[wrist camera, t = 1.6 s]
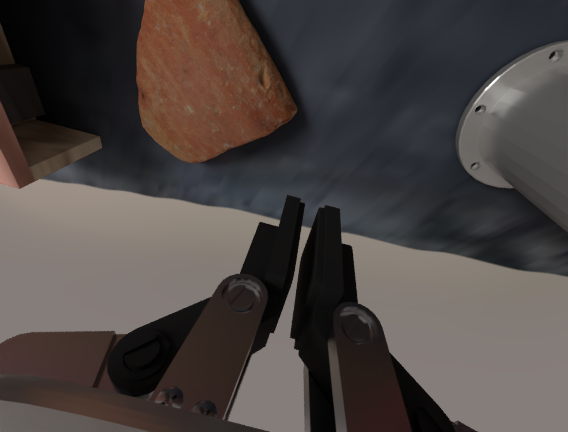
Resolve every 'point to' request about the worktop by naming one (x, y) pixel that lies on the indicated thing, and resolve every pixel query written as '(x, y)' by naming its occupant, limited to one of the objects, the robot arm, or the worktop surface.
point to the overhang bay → (32, 129)
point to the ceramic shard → (206, 79)
